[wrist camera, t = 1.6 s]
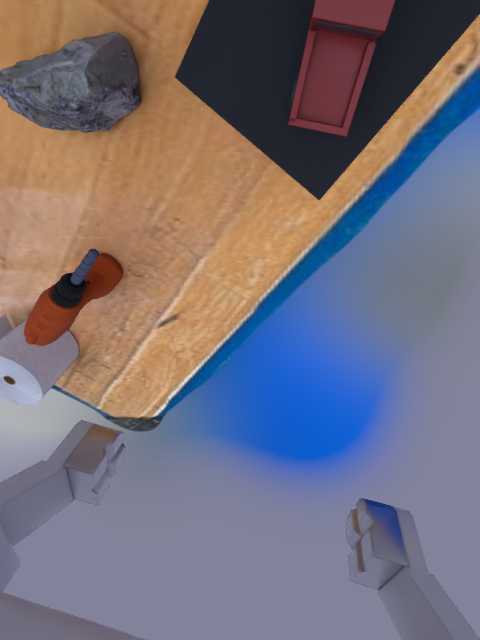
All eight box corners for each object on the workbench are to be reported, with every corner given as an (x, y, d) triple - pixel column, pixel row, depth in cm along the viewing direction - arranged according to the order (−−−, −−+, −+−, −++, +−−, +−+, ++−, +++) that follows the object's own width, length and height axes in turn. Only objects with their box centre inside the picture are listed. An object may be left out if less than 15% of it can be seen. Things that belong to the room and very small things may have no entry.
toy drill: (170, 219, 38) (99, 287, 27) (107, 297, 49) (38, 367, 38) (138, 188, 36) (48, 246, 25) (80, 275, 48) (0, 342, 37)
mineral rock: (24, 111, 35) (-61, 113, 27) (21, -18, 29) (-89, -66, 21) (132, 162, 36) (83, 179, 28) (152, 49, 30) (97, 28, 22)
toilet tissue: (84, 368, 58) (49, 410, 50) (24, 356, 59) (-20, 396, 51) (73, 321, 52) (30, 362, 44) (6, 309, 53) (-48, 346, 45)
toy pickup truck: (343, 133, 31) (355, 140, 25) (286, 121, 31) (283, 125, 25) (404, -63, 24) (443, -126, 17) (329, -76, 24) (339, -144, 17)
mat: (176, 77, 31) (174, 77, 31) (341, -293, 19) (342, -300, 19) (319, 199, 35) (319, 200, 35) (526, -43, 23) (530, -45, 23)
